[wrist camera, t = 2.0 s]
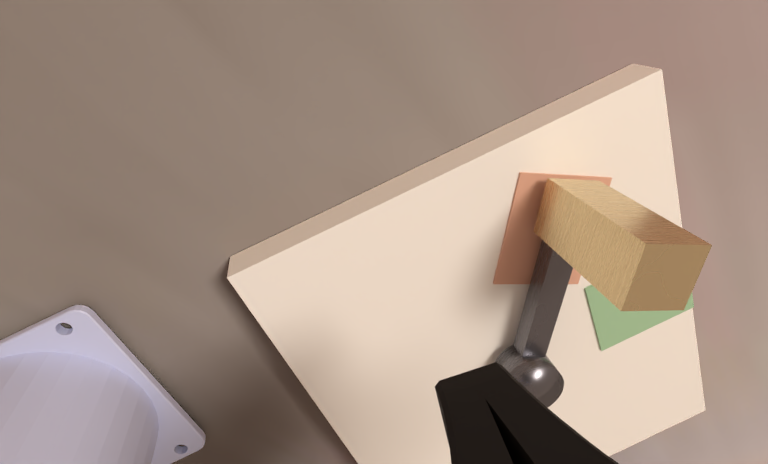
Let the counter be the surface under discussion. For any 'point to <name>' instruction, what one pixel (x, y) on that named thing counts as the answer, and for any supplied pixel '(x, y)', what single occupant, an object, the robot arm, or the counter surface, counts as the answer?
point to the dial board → (478, 283)
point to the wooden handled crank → (597, 269)
